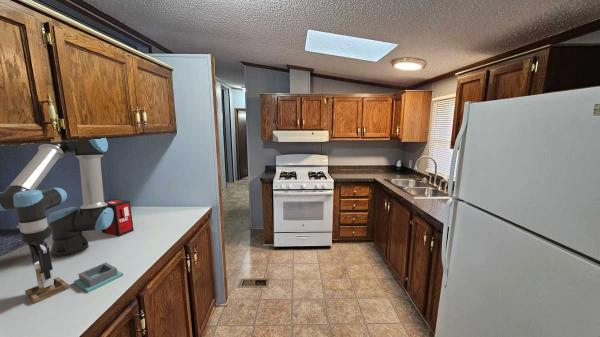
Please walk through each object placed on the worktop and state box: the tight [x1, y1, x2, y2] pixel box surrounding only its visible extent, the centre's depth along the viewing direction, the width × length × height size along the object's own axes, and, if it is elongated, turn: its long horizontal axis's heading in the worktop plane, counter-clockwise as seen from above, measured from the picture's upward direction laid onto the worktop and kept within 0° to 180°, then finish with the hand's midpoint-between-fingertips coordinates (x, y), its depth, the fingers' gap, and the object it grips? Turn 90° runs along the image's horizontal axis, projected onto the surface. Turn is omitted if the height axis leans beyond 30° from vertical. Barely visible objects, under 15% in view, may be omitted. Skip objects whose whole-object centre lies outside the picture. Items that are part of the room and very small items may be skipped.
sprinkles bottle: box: [33, 261, 56, 295], centre depth 98 cm, size 5×5×13 cm
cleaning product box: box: [100, 198, 135, 237], centre depth 154 cm, size 16×9×20 cm, turn 70°
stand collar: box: [24, 276, 70, 304], centre depth 99 cm, size 10×10×2 cm
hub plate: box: [73, 262, 124, 293], centre depth 107 cm, size 13×13×4 cm
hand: (46, 283), depth 99 cm, fingers closed on sprinkles bottle, 4 cm apart
